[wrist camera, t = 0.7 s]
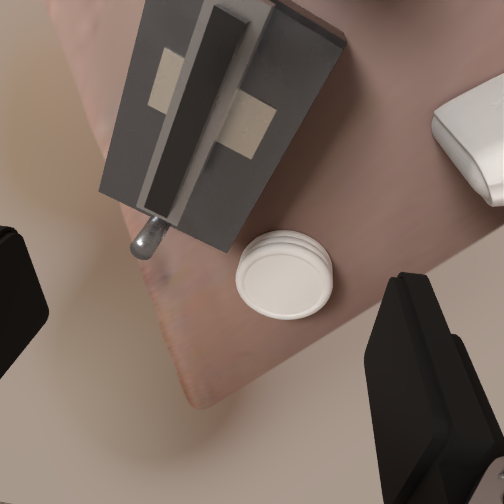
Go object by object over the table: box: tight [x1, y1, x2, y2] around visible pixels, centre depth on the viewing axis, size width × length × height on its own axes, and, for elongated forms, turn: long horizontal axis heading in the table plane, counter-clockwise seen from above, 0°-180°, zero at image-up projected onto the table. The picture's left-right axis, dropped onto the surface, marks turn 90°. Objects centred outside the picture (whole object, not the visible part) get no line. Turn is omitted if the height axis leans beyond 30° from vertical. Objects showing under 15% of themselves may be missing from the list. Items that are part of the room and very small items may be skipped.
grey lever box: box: [99, 0, 347, 260], centre depth 27 cm, size 18×12×12 cm, turn 154°
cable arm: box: [136, 0, 276, 226], centre depth 22 cm, size 14×3×3 cm, turn 154°
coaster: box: [236, 230, 333, 320], centre depth 40 cm, size 10×10×4 cm
